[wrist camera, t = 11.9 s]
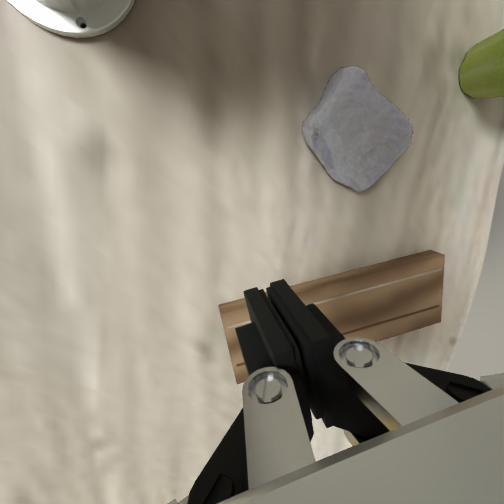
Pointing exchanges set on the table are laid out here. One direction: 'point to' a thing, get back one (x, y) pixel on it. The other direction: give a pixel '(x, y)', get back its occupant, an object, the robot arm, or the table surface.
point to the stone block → (356, 130)
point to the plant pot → (484, 68)
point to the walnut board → (361, 301)
